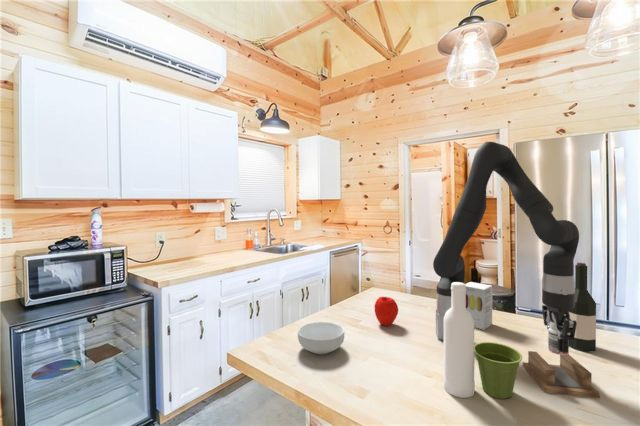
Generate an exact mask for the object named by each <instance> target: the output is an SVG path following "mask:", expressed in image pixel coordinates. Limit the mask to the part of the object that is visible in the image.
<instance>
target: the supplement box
mask: <svg viewBox="0 0 640 426" xmlns="http://www.w3.org/2000/svg"><path fill="white" fill-rule="evenodd" d="M464 284H465V285H466V310H467V311H468V312H469V313H470V314H471V315H472V318H473V321H474V329H480V330H483V331H485V330H486V329H488V328H489V327H490V326H492V324H493V285H491V284H484V283H480V282H473V281H470V282H467V283H464Z"/></svg>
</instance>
